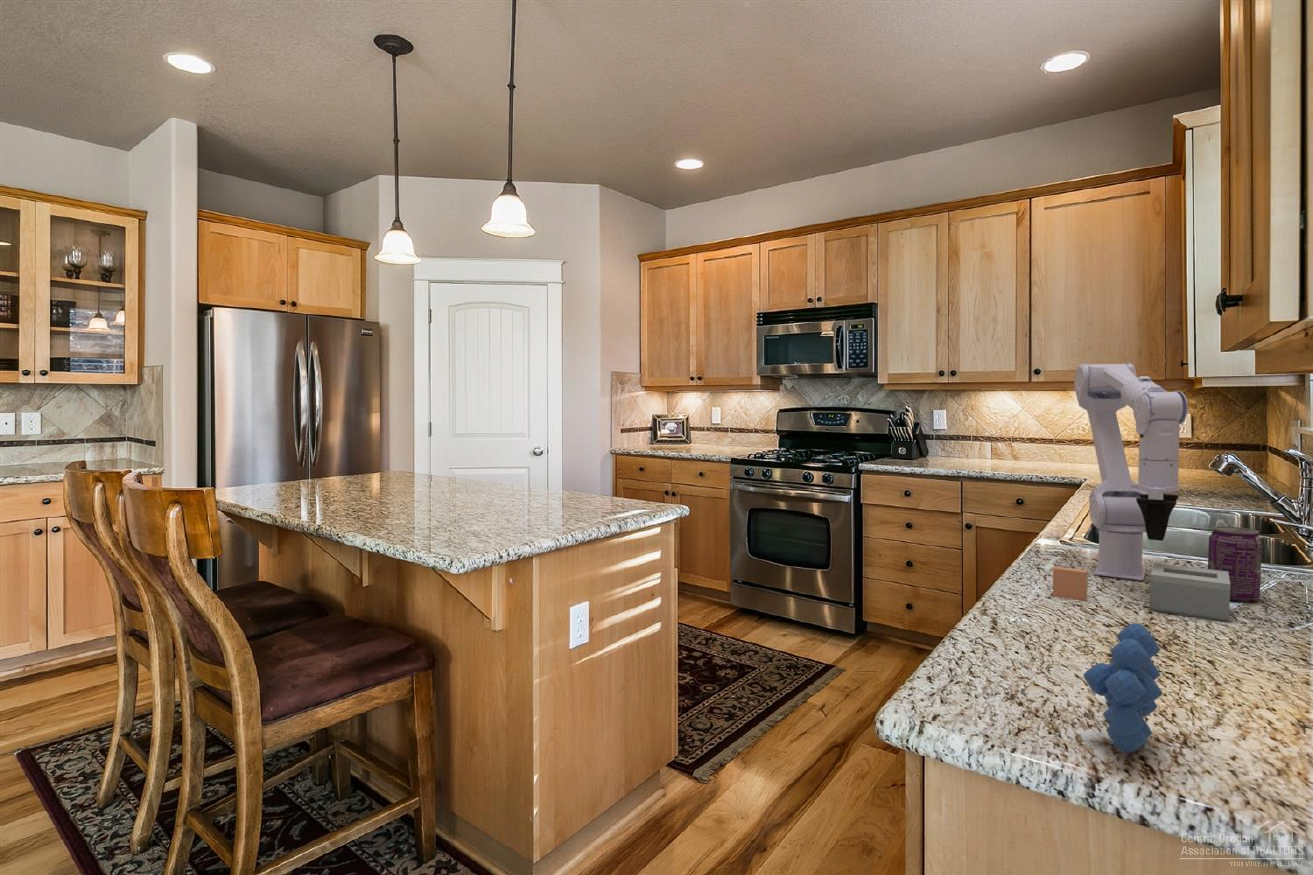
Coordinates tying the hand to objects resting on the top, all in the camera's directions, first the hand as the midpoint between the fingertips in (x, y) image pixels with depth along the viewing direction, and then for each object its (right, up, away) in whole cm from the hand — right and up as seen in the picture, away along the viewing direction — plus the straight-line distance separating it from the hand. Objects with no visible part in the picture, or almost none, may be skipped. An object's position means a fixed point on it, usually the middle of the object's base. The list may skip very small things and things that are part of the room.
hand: (1156, 536), depth 121 cm
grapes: (-41, -14, -52) cm, 67 cm away
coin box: (0, -11, -8) cm, 13 cm away
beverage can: (+13, -11, -1) cm, 16 cm away
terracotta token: (-16, -11, -1) cm, 19 cm away
